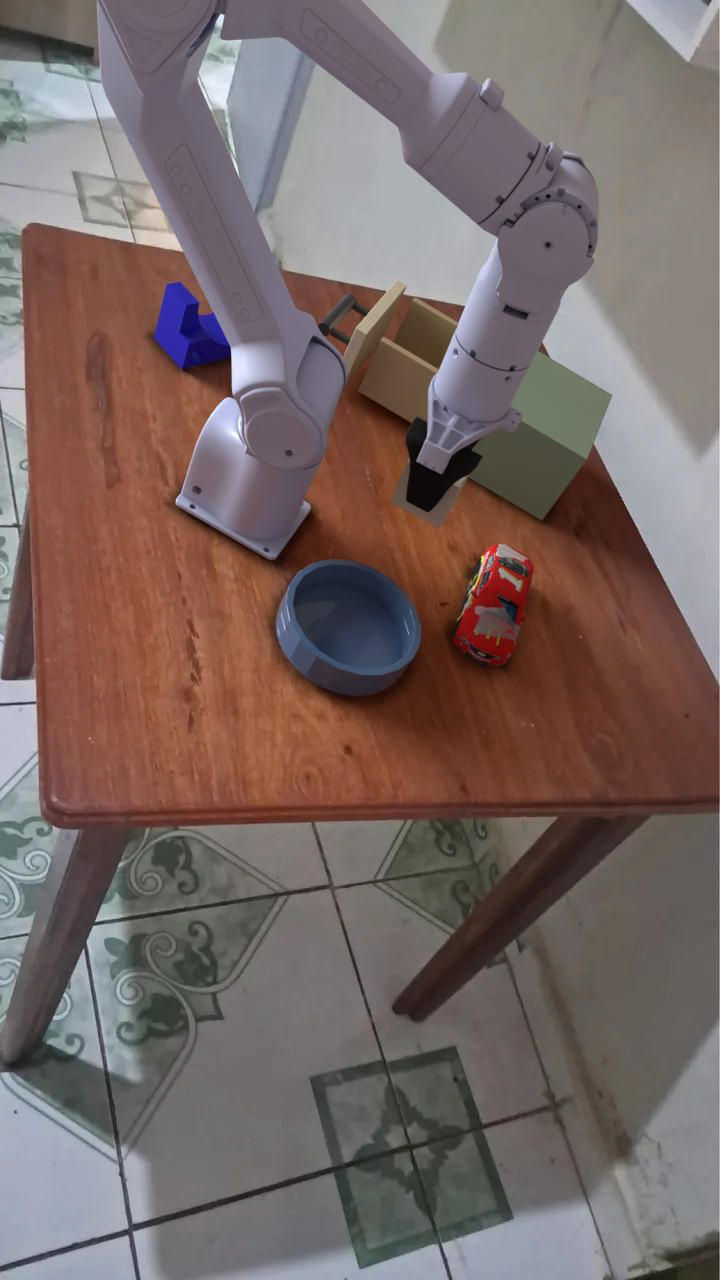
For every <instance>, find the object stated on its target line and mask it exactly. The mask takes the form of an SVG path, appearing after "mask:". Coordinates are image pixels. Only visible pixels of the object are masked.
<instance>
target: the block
mask: <svg viewBox="0 0 720 1280" xmlns="http://www.w3.org/2000/svg"><path fill="white" fill-rule="evenodd" d="M409 471H410V459H409V458H408V459H407V460H406V463H405V465H404V468H403V470H402V472H401V475H400V477H399V479H398V482H397V485H396V486H395V488H394V491H393V493H392V496H391V499H390V501H389V503H390V504H392V505H394V506H396V507H398V508H400V509H402V510H404V511H406V512H407V513H409V514H412V515H413V516H415V517H417V518H419V519H421V520H423V521H425V522H427V523H428V524H430V525H433V526H434V527H436V528H438V529H441V528H442V526H443V525H444V523H445V521H446V519H447V517H448V516H449V514H450V512H451V511H452V508H453V507H454V505H455V504H456V502H457V501H458V498H459V497H460V494H461V492H462V490H463V489H464V486H465V485H466V483H467V480H468V478H469V477H468V476H469V475H467V476H465V477H463V478H461V479H460V480H458V481H457V482H456V483H454V484H453V485H452V486H451V487H450V488H449V489H448V491H447V492H446V493H445V495H444V496H443V497H442V499H441V500H440V501H439V502H438V504H437V505H436V506H435V507H434V508H433V509H432V510H431V511H430V512H426V511H424V510H422V509H420V508H418V507H416V506H414V505H412V504H410V503H408V502H407V501H406V493H407V485H408V478H409Z"/></svg>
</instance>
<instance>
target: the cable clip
mask: <svg viewBox="0 0 720 1280" xmlns="http://www.w3.org/2000/svg"><path fill="white" fill-rule="evenodd" d="M164 289H165V290H164V294H163V298H162V302H161V306H160V311H159V316H158V319H157V324H156V328H155V332H154V335H153V339H154V340H155V341H156V342H157V344H159V346H160V347H161V348H162V350H164V351H165V352H166V354H167V355H168V356H169V357H170V358H171V359H172V360H173V361H174V363H176V365H177V366H178V367H179V369H181V370H185V369H188V368H192V367H197V366H200V365H205V364H208V363H212V362H218V361H221V360H224V359H228V358H232V357H231V347H230V344H229V342H228V340H227V338H226V336H225V334H224V332H223V330H222V328H221V326H220V324H219V322H218V320H217V318H216V316H215V314H214V312H211V313H206V314H199V308H200V307H199V306H200V301H199V300H198V299H197V298H196V297H195V296H194V295H193V294H192V293H191V292H190V291H189V289H188V288H187V287H186V286H185V285H184V284H183V283H182V282H181V281H176V282H170V283H166V285H165V288H164Z"/></svg>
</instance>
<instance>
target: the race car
mask: <svg viewBox="0 0 720 1280" xmlns="http://www.w3.org/2000/svg"><path fill="white" fill-rule="evenodd" d="M533 574H534V563H533V562H532V561H531V559H530V557H529V556H528V555H526V554H525V553H523V552H522V551H519V550H517V549H515V548H513V546H509V545H507V544H504V543H495V544H493V545H492V546H490V547H489V548H488V549H486V550H485V552H484V553H483V554H482V555H481V556H480V558H479V559H478V561H477V563H476V565H475V567H474V569H473V570H472V573H471V576H470V578H471V579H470V580H469V583H468V586H467V589H466V592H465V595H464V598H463V601H462V604H461V608H460V611H459V614H458V616H457V620H456V622H457V623H456V625H455V626H454V628H453V631H452V632H451V638H452V640H453V642H454V644H455V645H456V647H457V649H459V651H460V652H461V653H462V654H463V655H465V656H466V657H467V658H469V659H470V660H471V661H473V662H475V663H477V664H479V665H483V666H487V667H500V666H503V665H504V664H506V663H507V662H508V661H509V659H510V658H511V657H512V655H513V653H514V650H515V647H516V643H517V639H518V637H519V632H520V630H521V625H522V622H525V623H527V622H528V621H529V619H528V618H527V617H525V616H524V615H525V610H526V606H527V603H528V598H529V594H530V591H531V587H532V583H533Z"/></svg>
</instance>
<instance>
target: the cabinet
mask: <svg viewBox="0 0 720 1280" xmlns="http://www.w3.org/2000/svg"><path fill="white" fill-rule="evenodd" d="M612 398H613V394H611V393H610V392H608V391H606V390H605V389H603V388H602V387H600V386H599V385H596V384H595V383H593V382H592V381H590V380H588V379H587V378H585V377H584V376H581V375H579V374H578V373H577V372H575V371H573V370H572V369H570V368H568V367H566V366H565V365H563V364H562V363H560V362H558V361H556V360H555V359H553V358H551V357H550V356H548V355H546V354H544V353H543V352H541V351H539V350H538V351H537V353H536V355H535V357H534V359H533V361H532V363H531V365H530V367H529V369H528V371H527V373H526V375H525V377H524V379H523V381H522V383H521V385H520V387H519V389H518V391H517V393H516V395H515V397H514V399H513V401H512V403H511V406H512V407H513V408H514V409H516V410H518V411H519V412H521V414H522V415H523V416H522V419H521V421H520V423H519V425H518V427H517V429H516V430H515V431H514V432H507V431H505V430H503V429H496V430H495V431H493V432H491V433H489V434H487V435H485V436H484V437H483V438H482V439H481V440H480V441H479V442H478V443H477V444H476V445H475V446H474V447H473V449H472V451H474V452H476V453H478V454H480V455H482V456H483V457H482V459H481V461H480V462H479V464H478V466H477V468H476V469H475V470H474V471H473V472H471V473H470V474H469V476H468V478H469V479H470V480H471V481H473V482H475V483H477V484H479V485H480V486H482V487H484V488H486V489H487V490H489V491H491V493H492V492H493V494H496V495H498V496H499V497H501V498H503V499H504V500H506V501H508V502H509V503H511V504H513V505H514V506H515V507H518V508H520V509H521V510H523V511H524V512H526V513H528V514H530V515H531V516H533V517H534V518H536V519H539V520H540V521H543V520H544V519H545V517H546V516H547V514H548V513H549V512H550V510H551V509H552V508H553V507H554V505H555V504H556V502H557V501H558V500H559V498H560V497H561V496H562V494H563V493H564V491H566V489H567V487H568V486H569V485H570V483H572V481H573V479H574V478H575V476H577V474H578V473H579V471H580V470H581V468H582V467H583V466H584V465H585V464H586V462H587V461H588V458H589V456H590V453H591V451H592V448H593V445H594V443H595V441H596V438H597V436H598V434H599V430H600V428H601V426H602V424H603V421H604V418H605V415H606V412H607V410H608V408H609V405H610V403H611V400H612Z"/></svg>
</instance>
